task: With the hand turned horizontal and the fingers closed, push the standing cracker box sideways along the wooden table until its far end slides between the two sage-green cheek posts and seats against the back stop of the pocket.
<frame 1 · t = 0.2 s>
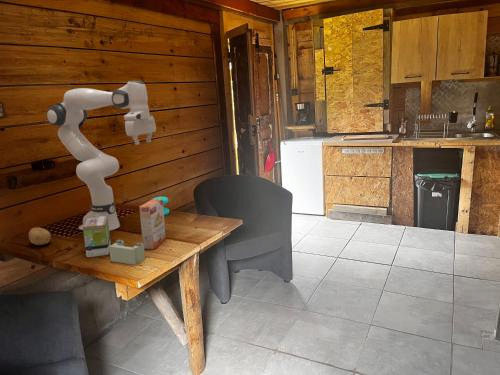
hand: (143, 143, 193), 47 cm above the table, tool pointing down, fingers open, 8 cm apart
donuts: (161, 214, 237), on the table
cracker box: (155, 244, 189), on the table
seat pocket: (127, 260, 171), on the table
potato: (41, 244, 195), on the table
tea box: (99, 250, 184), on the table
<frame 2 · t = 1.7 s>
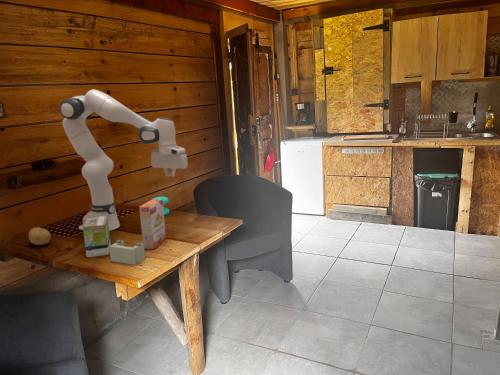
hand: (170, 176, 201), 29 cm above the table, tool pointing down, fingers closed
nothing on the table moved.
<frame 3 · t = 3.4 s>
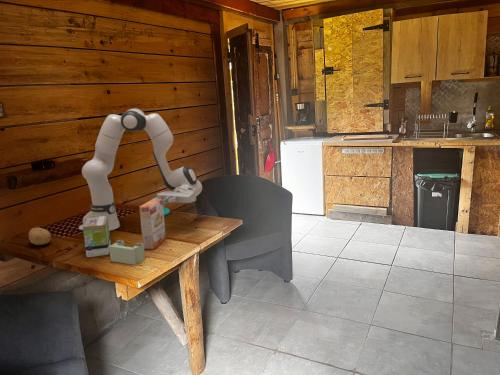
hand: (166, 201, 195), 18 cm above the table, tool horizontal, fingers closed
nothing on the table moved.
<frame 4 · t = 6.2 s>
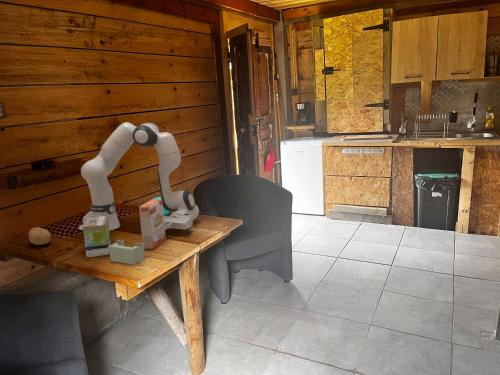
hand: (162, 227, 194), 6 cm above the table, tool horizontal, fingers closed
cracker box: (155, 244, 189), on the table, touching gripper
everything else where it was.
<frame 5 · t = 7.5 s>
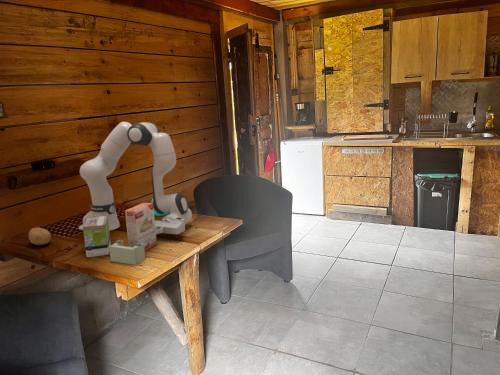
hand: (153, 232, 187), 6 cm above the table, tool horizontal, fingers closed, pressing on cracker box
cracker box: (144, 249, 183), on the table, touching gripper
everything else where it was.
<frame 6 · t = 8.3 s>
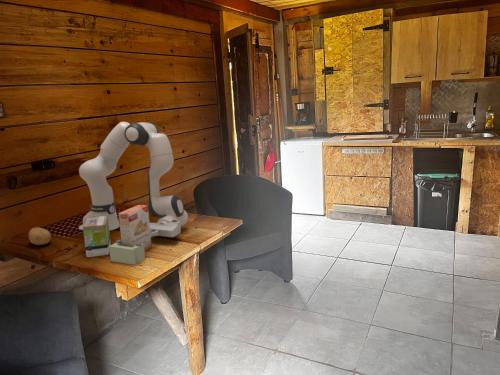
hand: (148, 235, 184), 6 cm above the table, tool horizontal, fingers closed, pressing on cracker box
cracker box: (138, 252, 179), on the table, touching gripper
everything else where it was.
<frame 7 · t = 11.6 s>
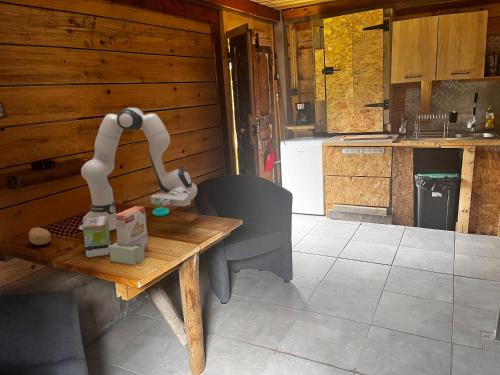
hand: (160, 203, 191), 18 cm above the table, tool horizontal, fingers closed
cracker box: (135, 254, 177), on the table
everything else where it was.
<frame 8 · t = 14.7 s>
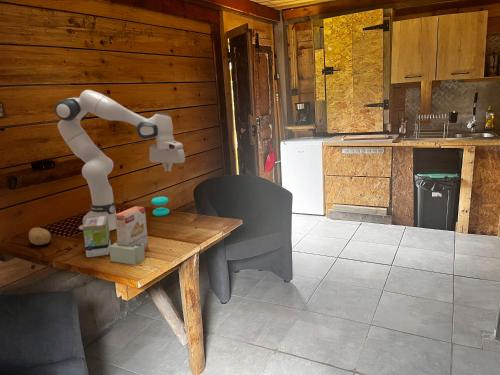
hand: (168, 170, 205), 31 cm above the table, tool pointing down, fingers closed
nothing on the table moved.
at the end: cracker box 1.2 cm from the target spot, on the table; cracker box tilted 0° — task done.
